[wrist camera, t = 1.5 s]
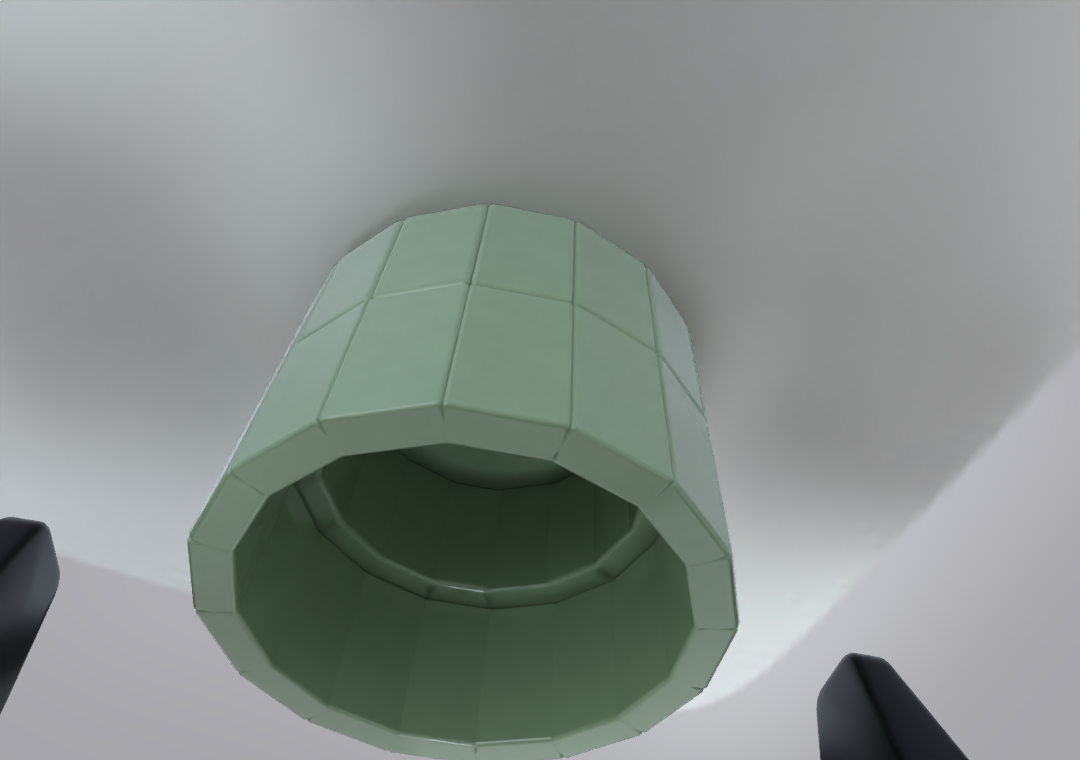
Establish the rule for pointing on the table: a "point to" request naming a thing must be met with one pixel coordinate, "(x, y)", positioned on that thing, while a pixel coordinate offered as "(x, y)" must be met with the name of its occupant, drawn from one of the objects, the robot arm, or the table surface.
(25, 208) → the table surface
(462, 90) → the table surface
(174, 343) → the table surface
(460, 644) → the cup
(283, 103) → the table surface
